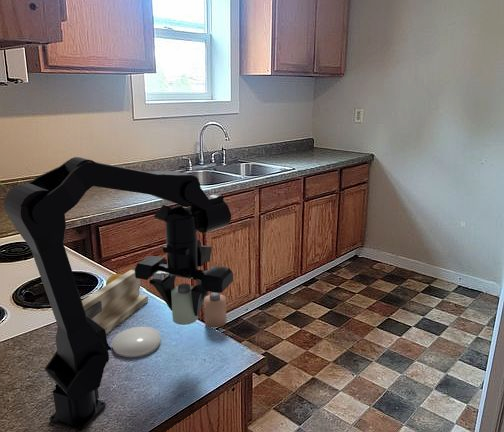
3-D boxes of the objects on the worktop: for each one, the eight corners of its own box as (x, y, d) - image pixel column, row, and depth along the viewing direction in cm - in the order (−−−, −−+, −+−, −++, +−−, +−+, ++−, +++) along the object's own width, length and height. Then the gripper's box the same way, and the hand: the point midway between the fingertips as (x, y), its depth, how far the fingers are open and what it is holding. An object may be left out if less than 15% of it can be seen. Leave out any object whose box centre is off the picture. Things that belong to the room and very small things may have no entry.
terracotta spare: (222, 328, 98) (221, 301, 96) (201, 325, 100) (200, 298, 98) (229, 318, 103) (228, 291, 101) (209, 315, 104) (208, 288, 102)
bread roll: (109, 282, 122) (107, 269, 121) (141, 280, 123) (140, 267, 122) (103, 296, 114) (102, 282, 113) (138, 294, 115) (137, 280, 114)
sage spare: (190, 326, 83) (189, 293, 81) (167, 321, 85) (165, 289, 83) (202, 314, 88) (201, 282, 86) (180, 310, 90) (179, 279, 87)
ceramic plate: (143, 361, 87) (143, 357, 86) (102, 351, 90) (102, 347, 90) (169, 335, 96) (169, 331, 95) (131, 327, 99) (131, 323, 99)
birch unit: (88, 347, 91) (84, 313, 89) (69, 342, 93) (65, 309, 91) (148, 301, 111) (146, 272, 109) (131, 297, 113) (128, 269, 110)
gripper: (243, 231, 86) (243, 302, 90) (161, 220, 92) (165, 287, 96) (220, 250, 76) (221, 329, 80) (130, 237, 82) (136, 311, 86)
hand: (185, 312), depth 86 cm, fingers closed on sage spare, 5 cm apart
